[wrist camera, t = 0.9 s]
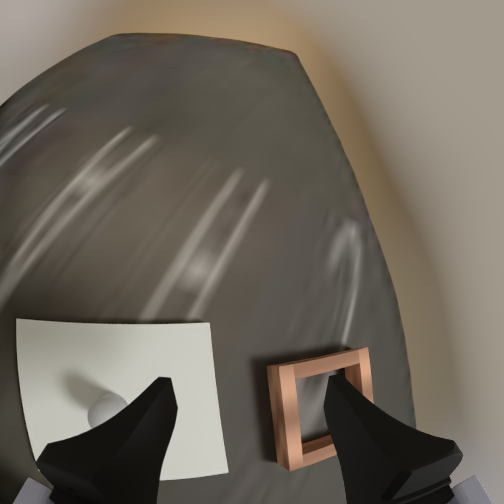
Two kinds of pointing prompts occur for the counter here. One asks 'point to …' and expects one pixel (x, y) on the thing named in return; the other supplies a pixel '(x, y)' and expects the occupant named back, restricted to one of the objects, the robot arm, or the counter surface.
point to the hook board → (121, 384)
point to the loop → (286, 404)
